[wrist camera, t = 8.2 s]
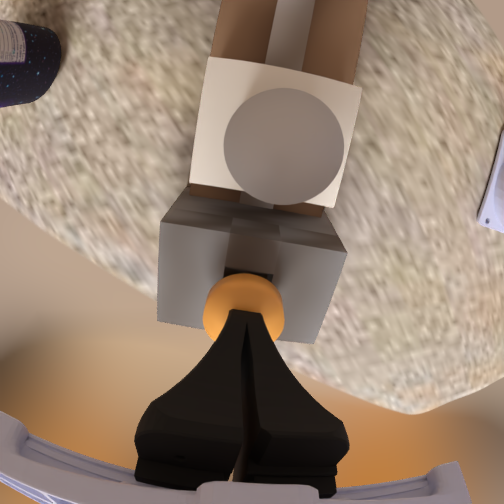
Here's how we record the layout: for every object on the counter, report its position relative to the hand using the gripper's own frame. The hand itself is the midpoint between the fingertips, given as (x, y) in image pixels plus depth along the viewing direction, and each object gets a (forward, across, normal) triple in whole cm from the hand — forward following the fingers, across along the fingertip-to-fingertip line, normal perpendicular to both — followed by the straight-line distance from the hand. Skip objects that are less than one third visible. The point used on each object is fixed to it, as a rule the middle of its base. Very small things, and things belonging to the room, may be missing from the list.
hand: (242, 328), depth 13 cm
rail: (+9, 0, -11) cm, 14 cm away
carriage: (+7, 0, -8) cm, 10 cm away
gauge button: (+3, 0, 0) cm, 3 cm away
